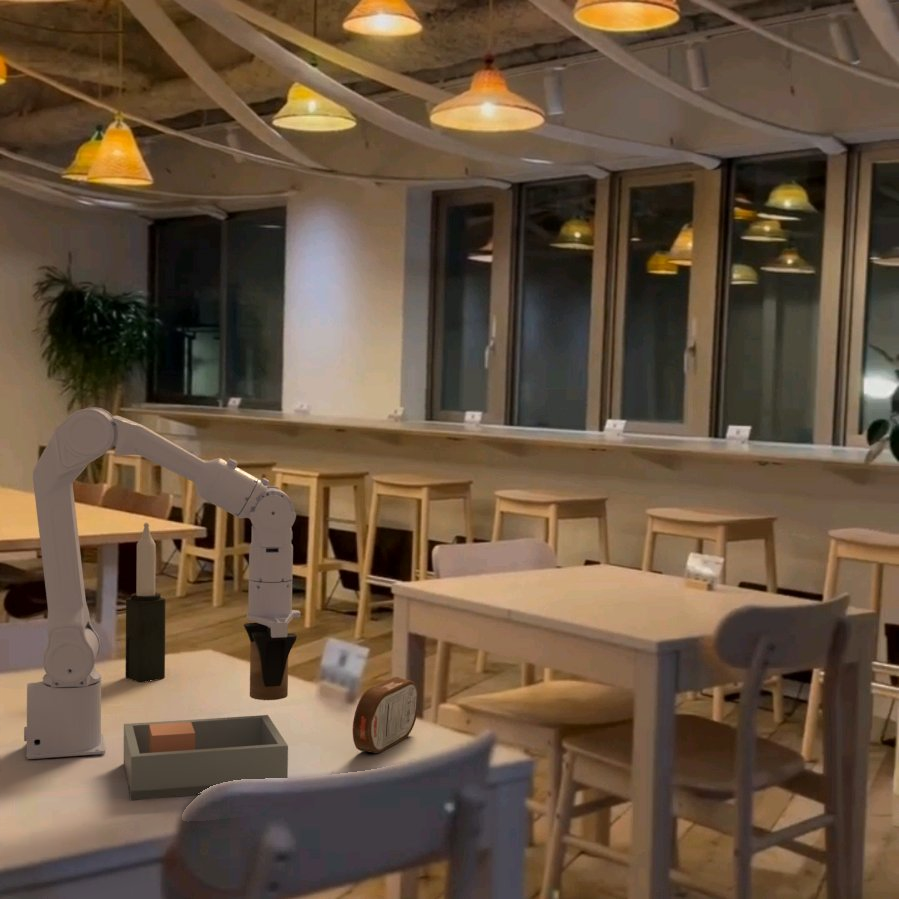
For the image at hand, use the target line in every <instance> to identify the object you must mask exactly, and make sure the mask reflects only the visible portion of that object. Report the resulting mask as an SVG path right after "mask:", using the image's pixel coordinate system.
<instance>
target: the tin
mask: <svg viewBox="0 0 899 899" xmlns="http://www.w3.org/2000/svg"><path fill="white" fill-rule="evenodd" d="M418 703H419V689H418V686H417V683H415V682H414V681H413V680H411V679H406V678H402V677H401V678H400V677H399V676H393V677H391V678H389V679H386V680H384V681H382V682H380V683H377V684H375V685H372V686H370V687H369V688H367V689H366V690H365V691H364V692H363V694H362V695H361V697H360V699H359V701H358V703H357V706H356V708H355V712H354V716H353V721H352V741H353V743H354V744H353V745H354V746H355V748H356V749H357V750H358V751H361V752H363V751H364V752H369V753H371V754H372V753H373V754H380V753H382V752H383V751H385V750H387V749H389V748H391V747H394V745H396V744H398V743H401V741H404V740H405V739H406V738H408V736H410V734H411V732H412V730H413V728H414V726H415V723H416V720H417V714H418V712H417V711H418Z"/></svg>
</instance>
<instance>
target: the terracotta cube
mask: <svg viewBox="0 0 899 899" xmlns="http://www.w3.org/2000/svg"><path fill="white" fill-rule="evenodd" d="M184 750H195V731H194V729H193V726H192V723H191V722H181V723H165V724H149V753H156V752H170V751H184Z"/></svg>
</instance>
